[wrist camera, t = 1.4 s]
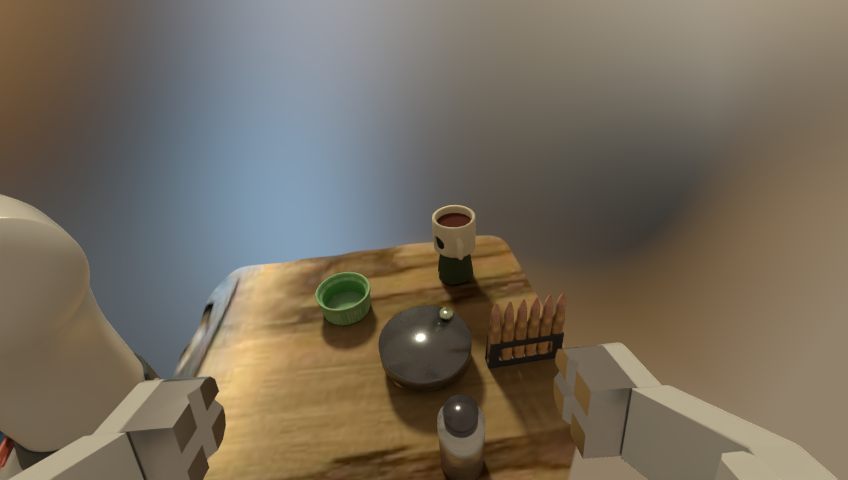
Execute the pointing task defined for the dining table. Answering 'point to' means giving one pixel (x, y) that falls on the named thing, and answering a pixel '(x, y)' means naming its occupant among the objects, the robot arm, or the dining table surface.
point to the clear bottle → (461, 438)
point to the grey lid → (425, 348)
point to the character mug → (454, 242)
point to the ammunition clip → (525, 333)
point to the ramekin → (344, 298)
